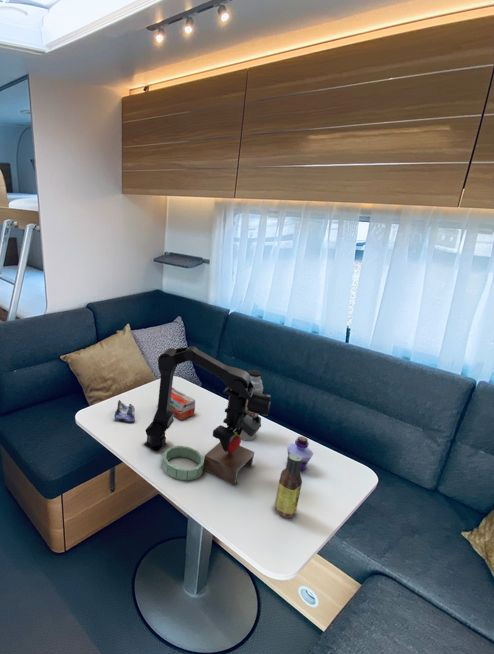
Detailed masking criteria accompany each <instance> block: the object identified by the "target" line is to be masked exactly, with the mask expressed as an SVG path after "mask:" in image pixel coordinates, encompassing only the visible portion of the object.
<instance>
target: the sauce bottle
mask: <svg viewBox="0 0 494 654" xmlns="http://www.w3.org/2000/svg"><path fill="white" fill-rule="evenodd" d="M286 459H287V461H286V466H285V468H284V469H283V470H281V473H280V477H279V480H278V485H277V491H276V497H275V501H274V511H275V512H276V513H277V515H279V516H281V517H283V518H288V519H291V518H293V517H295V515H296V512H297V510H298V504H299V500H300V495H301V489H302V485H303V478H302V475H301V471H300V466H301V463H302V457H301V456H300V455H298V454H295V453H290V454H288V453H287V457H286Z"/></svg>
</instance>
